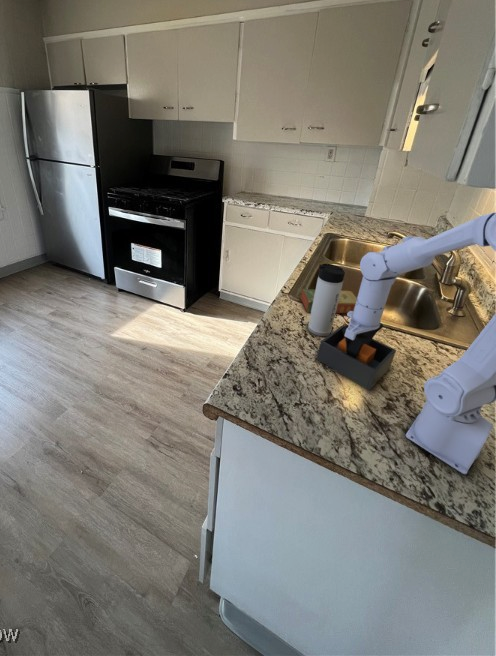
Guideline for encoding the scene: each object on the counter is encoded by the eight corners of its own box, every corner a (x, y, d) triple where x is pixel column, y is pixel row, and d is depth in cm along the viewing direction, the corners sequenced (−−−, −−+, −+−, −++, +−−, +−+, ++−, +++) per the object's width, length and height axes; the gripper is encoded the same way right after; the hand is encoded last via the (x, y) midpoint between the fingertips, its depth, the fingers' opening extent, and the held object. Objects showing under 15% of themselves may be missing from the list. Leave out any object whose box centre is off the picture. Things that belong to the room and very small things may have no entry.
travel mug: (305, 322, 93) (317, 260, 84) (328, 324, 92) (342, 262, 83) (308, 335, 87) (321, 270, 78) (332, 337, 86) (349, 272, 78)
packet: (373, 359, 75) (376, 349, 74) (364, 367, 72) (367, 357, 71) (345, 344, 80) (348, 335, 78) (336, 352, 77) (339, 342, 76)
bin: (389, 368, 76) (396, 349, 74) (369, 390, 69) (376, 371, 67) (338, 341, 85) (343, 324, 82) (316, 359, 78) (320, 341, 76)
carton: (358, 314, 97) (361, 303, 95) (306, 312, 98) (308, 301, 96) (348, 301, 105) (351, 289, 103) (300, 299, 105) (302, 287, 103)
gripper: (367, 286, 77) (354, 331, 82) (337, 305, 68) (325, 355, 74) (397, 297, 72) (381, 345, 78) (370, 320, 63) (354, 371, 69)
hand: (356, 351), depth 75 cm, fingers closed on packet, 4 cm apart
